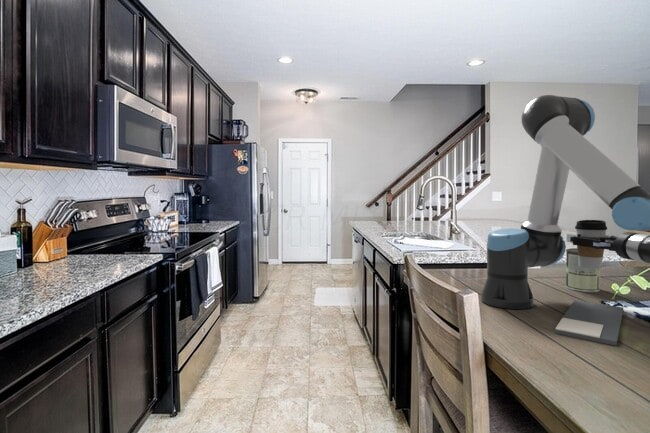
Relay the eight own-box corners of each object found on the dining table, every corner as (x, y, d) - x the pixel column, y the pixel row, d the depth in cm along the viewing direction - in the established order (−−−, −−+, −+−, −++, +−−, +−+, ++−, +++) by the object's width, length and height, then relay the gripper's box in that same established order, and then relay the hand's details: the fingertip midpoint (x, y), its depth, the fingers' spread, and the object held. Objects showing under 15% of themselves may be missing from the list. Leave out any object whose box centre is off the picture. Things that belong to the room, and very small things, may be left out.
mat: (616, 345, 83) (616, 340, 82) (554, 333, 91) (555, 328, 90) (623, 310, 106) (623, 306, 106) (574, 303, 114) (574, 299, 114)
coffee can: (559, 285, 137) (560, 248, 136) (588, 285, 136) (589, 248, 135) (575, 292, 127) (576, 252, 126) (607, 292, 126) (608, 252, 125)
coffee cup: (609, 266, 116) (610, 220, 115) (603, 271, 110) (604, 221, 109) (578, 263, 122) (578, 219, 121) (571, 267, 116) (571, 220, 115)
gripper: (599, 261, 98) (549, 249, 121) (676, 260, 98) (611, 248, 120) (599, 233, 98) (549, 226, 120) (677, 232, 97) (611, 225, 120)
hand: (580, 237), depth 120 cm, fingers closed on coffee cup, 8 cm apart
